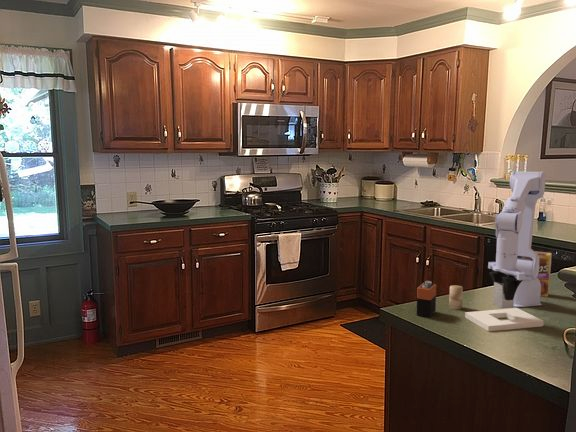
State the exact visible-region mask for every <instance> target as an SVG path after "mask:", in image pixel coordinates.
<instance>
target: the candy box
mask: <svg viewBox="0 0 576 432" xmlns="http://www.w3.org/2000/svg"><path fill="white" fill-rule="evenodd" d="M533 251H534V252H536V253H537V254H538V256H539V273H538V276H537V277H536V278H538V279H539V281H540V283H541V295H540V297H548V296H549V293H550V280H551V270H552V269H551V267H552V256H553V254H552V252H545V251H535V250H533ZM521 258H527V259H532V258H531V257H523V256H521Z"/></svg>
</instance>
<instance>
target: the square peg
mask: <svg viewBox="0 0 576 432" xmlns="http://www.w3.org/2000/svg"><path fill="white" fill-rule="evenodd" d="M492 301H493V302H492V305H494V306H496V307H497V308H499V309H510V308H514V307H515V306H514V298H513V300H506V299H505V287H504V283H503V281H502V282H494V284H493V300H492Z"/></svg>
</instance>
